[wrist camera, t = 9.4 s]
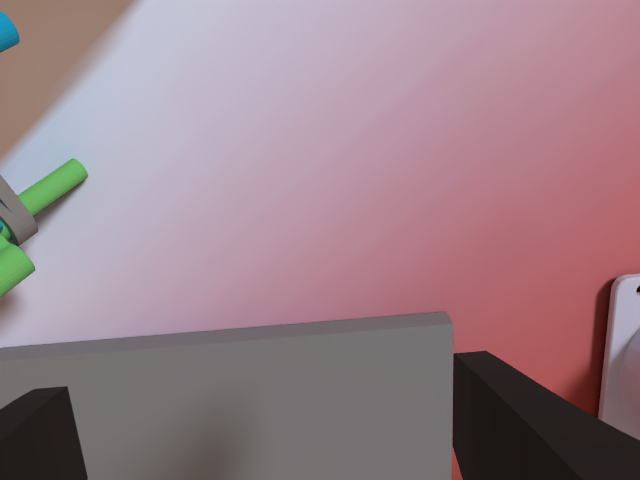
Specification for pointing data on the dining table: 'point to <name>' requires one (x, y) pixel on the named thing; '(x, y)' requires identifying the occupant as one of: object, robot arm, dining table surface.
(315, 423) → the board
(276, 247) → the dining table surface
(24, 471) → the robot arm
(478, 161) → the dining table surface
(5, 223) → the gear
